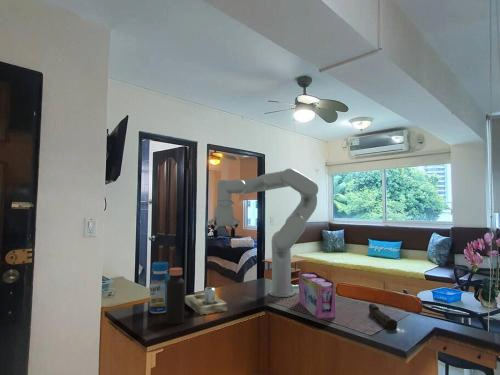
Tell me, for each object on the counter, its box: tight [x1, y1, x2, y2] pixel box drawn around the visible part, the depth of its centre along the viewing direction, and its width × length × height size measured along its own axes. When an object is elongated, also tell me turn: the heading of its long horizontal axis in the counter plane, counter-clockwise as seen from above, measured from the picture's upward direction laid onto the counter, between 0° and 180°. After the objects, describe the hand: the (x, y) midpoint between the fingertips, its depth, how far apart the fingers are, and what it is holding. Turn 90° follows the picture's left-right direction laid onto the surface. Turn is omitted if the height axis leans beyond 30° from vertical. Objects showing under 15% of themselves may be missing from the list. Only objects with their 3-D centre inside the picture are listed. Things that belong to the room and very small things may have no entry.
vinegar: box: [165, 267, 186, 326], centre depth 122 cm, size 7×7×20 cm
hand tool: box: [368, 303, 398, 331], centre depth 122 cm, size 19×4×5 cm, turn 0°
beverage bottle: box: [148, 261, 170, 314], centre depth 135 cm, size 8×8×20 cm
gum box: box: [298, 271, 336, 319], centre depth 136 cm, size 24×8×14 cm, turn 10°
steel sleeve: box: [204, 286, 216, 305], centre depth 136 cm, size 4×4×9 cm
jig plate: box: [184, 292, 228, 316], centre depth 140 cm, size 12×20×3 cm, turn 30°
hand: (224, 237), depth 163 cm, fingers open, 9 cm apart
